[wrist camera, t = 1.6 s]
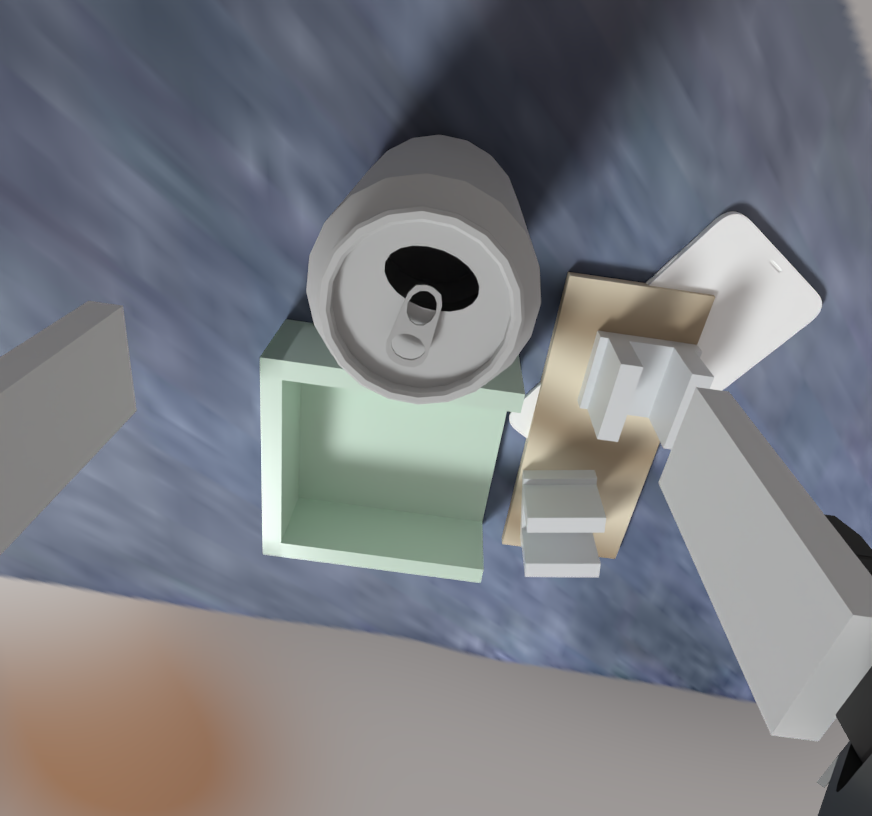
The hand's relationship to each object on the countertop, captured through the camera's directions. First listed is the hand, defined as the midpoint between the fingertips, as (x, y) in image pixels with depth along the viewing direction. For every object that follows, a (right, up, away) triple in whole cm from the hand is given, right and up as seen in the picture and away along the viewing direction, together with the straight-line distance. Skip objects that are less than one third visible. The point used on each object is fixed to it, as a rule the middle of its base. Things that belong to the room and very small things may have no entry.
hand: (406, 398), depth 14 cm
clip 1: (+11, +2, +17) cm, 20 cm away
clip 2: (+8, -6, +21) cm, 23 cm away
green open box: (-2, -2, +20) cm, 20 cm away
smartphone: (+12, +2, +18) cm, 21 cm away
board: (+9, -1, +19) cm, 22 cm away
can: (+1, +9, +14) cm, 17 cm away
